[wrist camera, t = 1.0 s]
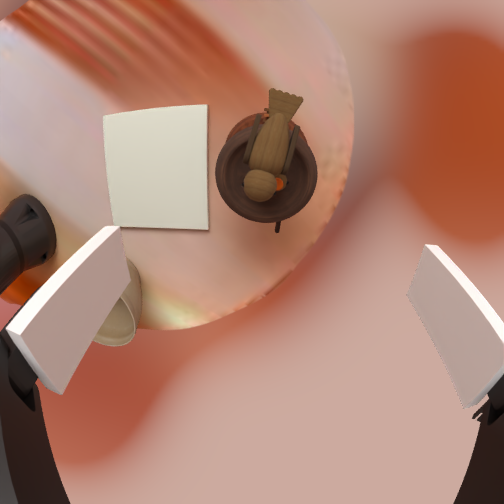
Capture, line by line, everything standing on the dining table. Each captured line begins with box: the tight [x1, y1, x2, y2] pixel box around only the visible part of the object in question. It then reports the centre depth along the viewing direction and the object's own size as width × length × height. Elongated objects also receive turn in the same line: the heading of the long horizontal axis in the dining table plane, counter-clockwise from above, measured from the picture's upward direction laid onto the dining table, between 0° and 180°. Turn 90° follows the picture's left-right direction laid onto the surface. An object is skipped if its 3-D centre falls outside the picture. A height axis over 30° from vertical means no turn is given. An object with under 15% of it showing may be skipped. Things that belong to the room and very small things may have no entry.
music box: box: [215, 88, 317, 233], centre depth 27 cm, size 15×11×20 cm
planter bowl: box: [93, 258, 142, 346], centre depth 41 cm, size 16×16×11 cm
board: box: [103, 105, 209, 230], centre depth 36 cm, size 16×18×1 cm
